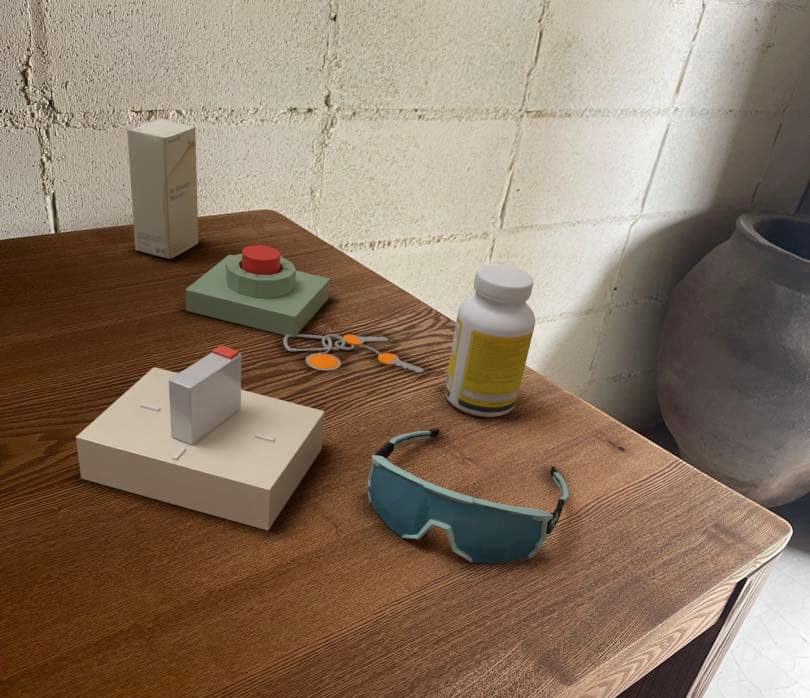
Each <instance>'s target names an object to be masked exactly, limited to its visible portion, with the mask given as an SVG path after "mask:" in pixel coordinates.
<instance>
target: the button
mask: <svg viewBox="0 0 810 698" xmlns="http://www.w3.org/2000/svg"><path fill="white" fill-rule="evenodd" d="M241 254H242V269H243V270H244V271H246V272H249V273H253V274H257V275H272V274H276V273H279V272H280V256H281V252H280V251H279V249H276V248H274V247H272V246H268V245H263V244H262V245H261V244H259V245H258V244H254V245H248V246H246V247H244V248H243V249H242V251H241Z"/></svg>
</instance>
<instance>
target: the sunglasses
mask: <svg viewBox="0 0 810 698" xmlns="http://www.w3.org/2000/svg"><path fill="white" fill-rule="evenodd" d="M440 432H441V430H440V429H439V428H435V429H430V430H417V431H413V432H412V431H411V432H407V433H403V434H399V435H397V436H394V437H391V438H390V440H389V441H388V442H387V443H386V444H384V445H383V446H382V447H381V448H380V449H378V451H376V452H375V454H371V462H370V466H369V470H368V476H367V484H368V488H367V498H368V504H370V506H371V507H372V510H373V511H374V512H375V513H376V514H377V516H378V517H379V518H380V519H381V520H382V522H383V523H384V524H385V525H386V526H387V527H388V528H389V530H392V532H393V533H395V534H397V535H398V536H399V537H400V538H401V539H407V540H408V539H409V540H418V541H419V540H423V539H424V538H425V537H426V536H427V535H428V534H429V533H430V531H431V530H432V529H433V528H437V529H440V530H442V531H443V532H445V534H446V537H447V539H448V542H449V545H450V548H451V551H452V552H453V553H454V554H457V555H458V556H460V557H461V558H463V559H464V560H466V561H468V563H471V564H472V563H474V564H478V563H479V564H507V563H511V562H516V561H520V560H524V559H528V560H529V559H531V558H532V557H533V556H534V555H535V554H536V553H537V552H538V551H539V550H541V548H542V545H543V543H544V542H545V541H547V540H548V535H551V533H552V532H553V530H554V529H555V527H556V525H557V523H558V522H559V520H560V518H561V514H562V513H563V509H564V506H565V505H566V503H567V501H568V499H569V497H570V496H569V490H568V484H567V483H566V481H565V479H564V478H563V476H562V475H561V474H560V473H559V471H557V467H556V466H551V467H550V473H549V474H550V476H551V478H552V480H553V481H554V482H555V484H556V485H557V487H558V488H559V491H560V494H561V496H560V497H559V498H558V501H557V504H556V507H555V509H554V510H553V512H547V511H545V510H542V509H540V508H532V507H524V506H516V505H510V504H505V503H499V502H494V501H490V500H487V499H481V498H478V497H474V496H471V495H467V494H463V493H460V492H457V491H454V490H451V489H448V488H445V487H442V486H439V485H436V483H432V482H430V481H427V480H424V479H422V478H420V477H418V476H416V475H414V474H413V473H410V472H409V471H406V470H405V469H402V468H401V467H399V466H397V465H395V464H394V463H392V462H391V461H389V460H387V459H388V458H389V457H390V455H391V454H393V452H394V450H395V449H396V448H397V447H398V446H401V445H403V444H406V443H410V442H413V441H420V440H425V439H432V438H437V437H438V434H439V433H440Z"/></svg>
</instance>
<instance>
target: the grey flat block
mask: <svg viewBox="0 0 810 698" xmlns="http://www.w3.org/2000/svg"><path fill="white" fill-rule="evenodd" d="M178 373H179V374H177V375H175V376H174V377H172V378H171V379H169V400H170V422H171V437H173V438H176V439H178V440H181V441H183V442H186V443H188V444H191V445H193V444H194V443H196V442H197V441H198V440H200V439H201V438H202V437H204V436H205V435H206V434H208V433H209V432H210V431H212V430H213V429H214V428H216V427H217V426H218V425H220V424H221V423H222V422H224V421H225V420H226V419H228V418H229V417H230V416H232V415H233V414H234V413H236V412H237V411H238V410H240V409H241V390H242V354H241V353H240V352H239V351H238V350H236V349H233V348H230V347H228V346H225V345H222V344H220V345H219V346H217V347H215V348H213V349H212V352H210V353H209V354H206V355H205V356H204V357H202V358H201V359H199V360H197V361H196V362H194V363H193V364H191V365H190V366H188V367H186V368H185V369H183V370H182V371H180V372H178Z"/></svg>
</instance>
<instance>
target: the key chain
mask: <svg viewBox="0 0 810 698" xmlns="http://www.w3.org/2000/svg"><path fill="white" fill-rule="evenodd" d="M289 338H293V337H292V336H291V335H284V337H283V339H282V344H283V346H284V347H285V350H286V351H287V352H289V353H297V352H308V351H309V352H310V351H312V352H313V351H319V352H316V353H311V354H309V355H307V356H306V358H305V364H306V365H307V366H308V367H310V368H311V369H314V370H316V371H322V372H323V371H324V372H330V371H335V370H337V369H339V368H340V367H341V365H342V362H341V360H340V358H338V357H337V356H335V355H333V354H329V352H330V351H353V350H354V349H355V348H362V349H365V350H368V351H371V352H373V353H375V354H376V355H377V361H379V363H381V364H383V365H386V366H396V367H399V368H400V367H401V368H402V369H403V370H407V369H408V371H411V372H412V371H413V372H414V373H416V374H422V373H424V371H425V368H422V367H420V366H416V365H414V364H412V363H408V362H406V361H403V360H400V356H398V355H396V354H393V353H390V352H385V353H381V352H380V351H379V350H377V349H375V348H374V347H370V346H369V345H365V344H364V343H380V342H381V343H382V342H389V338H387V337H386V336H383V335H382V336H381V335H380V336H371V335H369V336H359V335H356V334H345V335H344V336H343V337H342V336H340V335H339V334H334V333H328V334H327V335H317V334H316V335H315V334H303V333H298V334H296V335H295V337H294V338H300V339H301V338H302V339H312V340H313V339H315V340H321V345H322V346H323V347H315V348H312V347H311V348H298V349H297V348H296V347H295V348H292V347H290V346H289V344H288V339H289ZM332 339H337V340H336V341H335V342H334V346H333V341H332ZM326 341H327V343H326ZM339 344H341V345H339ZM346 345H348V346H350V347H348V346H347V347H346ZM322 351H323V352H322Z"/></svg>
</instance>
